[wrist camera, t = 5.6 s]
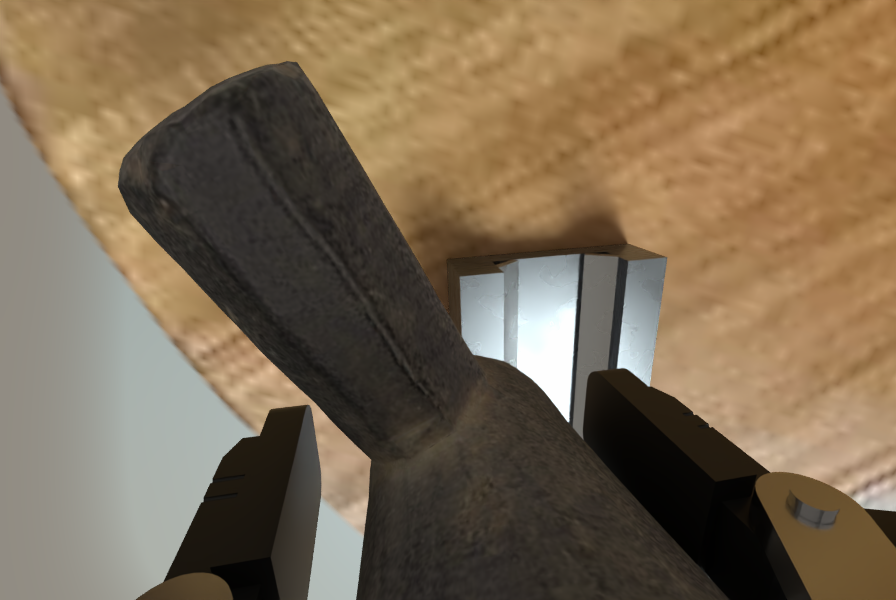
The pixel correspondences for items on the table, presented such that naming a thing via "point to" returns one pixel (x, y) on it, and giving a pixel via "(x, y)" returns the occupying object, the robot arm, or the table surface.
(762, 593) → the robot arm
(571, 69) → the table surface
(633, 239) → the table surface
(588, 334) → the v block
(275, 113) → the pipe
